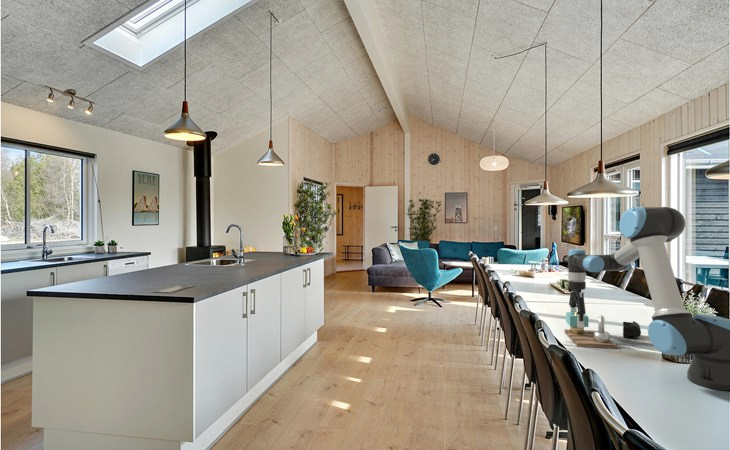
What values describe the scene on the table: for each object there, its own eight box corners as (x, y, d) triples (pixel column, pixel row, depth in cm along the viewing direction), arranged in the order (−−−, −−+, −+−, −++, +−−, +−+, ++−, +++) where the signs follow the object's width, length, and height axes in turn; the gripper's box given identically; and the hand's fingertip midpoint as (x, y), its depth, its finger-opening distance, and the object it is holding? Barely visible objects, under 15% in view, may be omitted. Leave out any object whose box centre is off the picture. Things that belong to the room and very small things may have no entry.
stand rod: (611, 343, 186) (610, 317, 186) (596, 342, 188) (596, 316, 187) (606, 339, 192) (606, 314, 192) (592, 338, 193) (592, 313, 193)
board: (616, 348, 184) (616, 345, 184) (577, 346, 187) (577, 343, 187) (599, 333, 207) (599, 330, 207) (564, 332, 211) (564, 329, 211)
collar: (588, 327, 199) (588, 316, 199) (570, 326, 201) (570, 315, 201) (583, 322, 207) (583, 312, 207) (566, 322, 209) (566, 312, 209)
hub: (585, 334, 201) (585, 313, 200) (571, 334, 202) (571, 312, 202) (581, 331, 206) (581, 310, 206) (568, 330, 208) (568, 310, 208)
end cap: (641, 340, 195) (641, 326, 195) (623, 338, 199) (623, 324, 199) (640, 335, 204) (640, 321, 204) (623, 333, 208) (623, 320, 207)
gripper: (593, 284, 191) (593, 331, 191) (578, 277, 215) (578, 318, 215) (575, 284, 192) (575, 330, 193) (562, 276, 217) (562, 317, 217)
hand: (577, 324), depth 204 cm, fingers open, 13 cm apart
